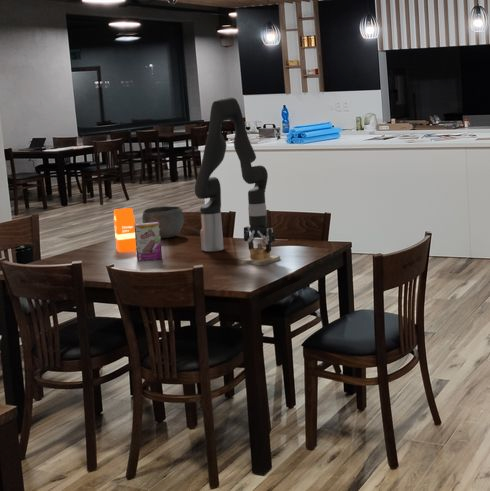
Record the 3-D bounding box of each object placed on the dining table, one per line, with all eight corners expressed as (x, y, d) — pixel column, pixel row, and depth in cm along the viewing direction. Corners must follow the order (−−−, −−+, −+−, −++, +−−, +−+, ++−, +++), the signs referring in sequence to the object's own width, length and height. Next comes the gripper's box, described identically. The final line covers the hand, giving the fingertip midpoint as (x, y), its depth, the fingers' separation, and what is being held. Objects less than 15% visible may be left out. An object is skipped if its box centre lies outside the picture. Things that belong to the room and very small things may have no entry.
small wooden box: (250, 258, 362) (249, 249, 361) (258, 255, 367) (257, 246, 366) (262, 259, 359) (261, 250, 358) (270, 256, 363) (269, 247, 363)
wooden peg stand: (240, 263, 362) (239, 244, 360) (257, 257, 371) (255, 239, 370) (264, 265, 355) (263, 246, 353) (280, 259, 364) (279, 241, 363)
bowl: (156, 233, 449) (153, 205, 446) (192, 233, 441) (190, 204, 438) (136, 241, 430) (133, 212, 427) (174, 241, 422) (171, 211, 419)
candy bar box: (137, 262, 379) (134, 225, 376) (137, 260, 384) (133, 223, 381) (162, 259, 381) (159, 223, 378) (162, 257, 386) (158, 221, 383)
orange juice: (116, 249, 412) (112, 208, 408) (134, 247, 414) (130, 206, 410) (119, 252, 404) (115, 210, 401) (137, 250, 407) (133, 208, 403)
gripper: (238, 214, 361) (241, 252, 364) (266, 216, 352) (269, 254, 355) (248, 211, 366) (251, 249, 370) (276, 213, 358) (279, 251, 361)
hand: (260, 251), depth 362 cm, fingers open, 8 cm apart
